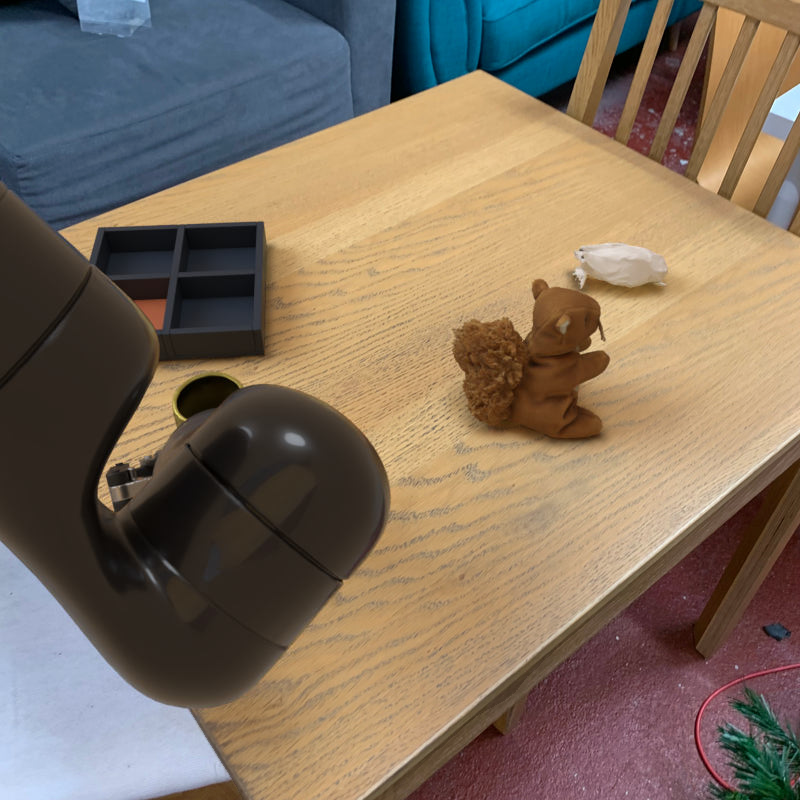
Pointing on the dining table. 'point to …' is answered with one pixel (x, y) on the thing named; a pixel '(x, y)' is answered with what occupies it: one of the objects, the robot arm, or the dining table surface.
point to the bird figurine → (620, 264)
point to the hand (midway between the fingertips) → (221, 452)
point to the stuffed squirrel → (534, 365)
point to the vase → (202, 394)
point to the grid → (192, 284)
